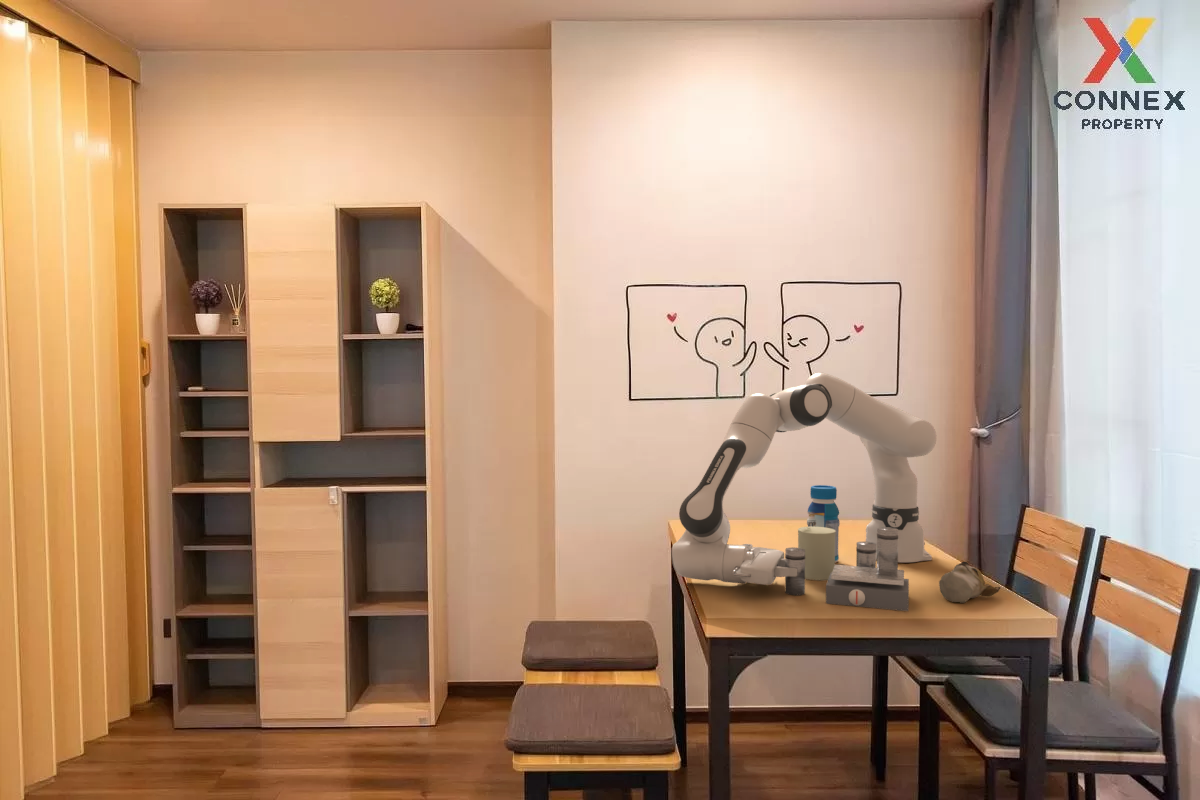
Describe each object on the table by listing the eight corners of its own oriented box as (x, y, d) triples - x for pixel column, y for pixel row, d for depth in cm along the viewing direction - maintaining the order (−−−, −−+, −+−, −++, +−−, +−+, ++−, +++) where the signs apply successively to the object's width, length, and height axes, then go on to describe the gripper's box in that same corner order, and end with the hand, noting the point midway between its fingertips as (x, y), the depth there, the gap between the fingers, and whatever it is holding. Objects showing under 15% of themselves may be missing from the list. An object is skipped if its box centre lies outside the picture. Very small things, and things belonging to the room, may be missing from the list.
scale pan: (834, 568, 190) (835, 564, 190) (903, 574, 185) (904, 570, 185) (831, 579, 181) (831, 574, 181) (903, 585, 176) (903, 580, 176)
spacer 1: (786, 589, 192) (786, 546, 191) (805, 591, 190) (806, 548, 190) (783, 594, 188) (784, 550, 187) (803, 596, 186) (804, 552, 186)
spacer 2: (856, 581, 199) (857, 540, 198) (876, 583, 197) (876, 542, 197) (855, 586, 195) (855, 544, 194) (875, 588, 193) (875, 546, 192)
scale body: (830, 589, 192) (830, 572, 192) (908, 596, 186) (908, 579, 186) (825, 603, 180) (825, 585, 180) (908, 611, 174) (908, 593, 174)
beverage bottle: (840, 565, 216) (841, 489, 215) (807, 563, 217) (808, 488, 217) (837, 558, 224) (838, 484, 223) (805, 556, 226) (806, 484, 225)
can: (789, 573, 207) (790, 525, 207) (820, 570, 211) (821, 523, 210) (811, 582, 199) (812, 532, 198) (843, 578, 202) (843, 530, 202)
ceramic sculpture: (927, 560, 184) (958, 554, 194) (925, 598, 184) (956, 591, 194) (975, 569, 176) (1004, 562, 186) (972, 609, 176) (1002, 601, 186)
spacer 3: (876, 570, 185) (877, 526, 184) (898, 572, 183) (898, 527, 183) (875, 575, 180) (876, 530, 180) (897, 577, 179) (898, 531, 178)
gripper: (730, 560, 183) (793, 565, 179) (746, 542, 203) (804, 546, 198) (730, 588, 184) (793, 594, 179) (746, 567, 203) (804, 572, 198)
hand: (799, 569), depth 188 cm, fingers closed on spacer 1, 4 cm apart
